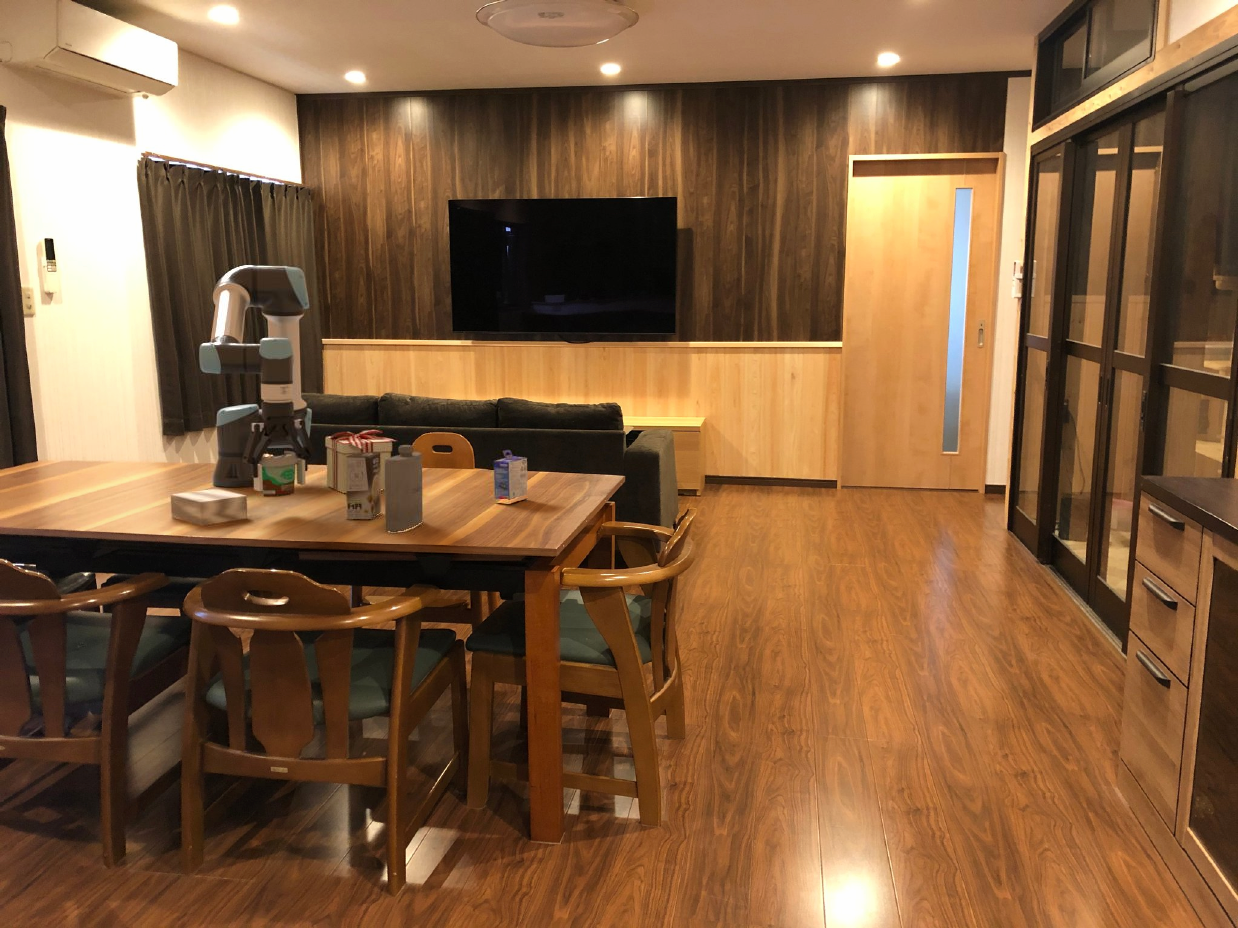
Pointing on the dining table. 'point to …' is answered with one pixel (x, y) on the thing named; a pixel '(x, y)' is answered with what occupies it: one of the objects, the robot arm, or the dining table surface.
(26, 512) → the dining table surface
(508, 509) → the dining table surface
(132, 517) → the dining table surface
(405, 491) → the flask
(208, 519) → the birch block
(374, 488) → the coffee box
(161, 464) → the dining table surface
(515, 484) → the ink cartridge box
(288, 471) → the food container
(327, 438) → the gift box
